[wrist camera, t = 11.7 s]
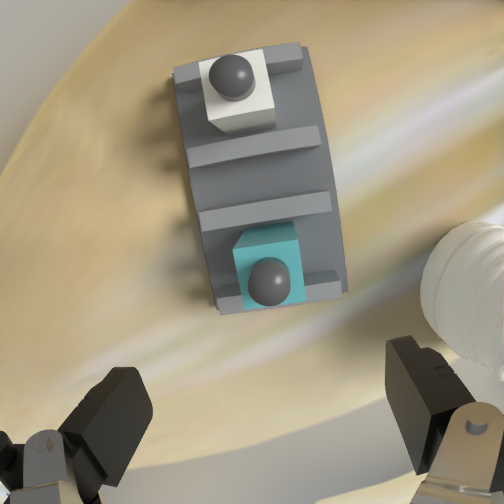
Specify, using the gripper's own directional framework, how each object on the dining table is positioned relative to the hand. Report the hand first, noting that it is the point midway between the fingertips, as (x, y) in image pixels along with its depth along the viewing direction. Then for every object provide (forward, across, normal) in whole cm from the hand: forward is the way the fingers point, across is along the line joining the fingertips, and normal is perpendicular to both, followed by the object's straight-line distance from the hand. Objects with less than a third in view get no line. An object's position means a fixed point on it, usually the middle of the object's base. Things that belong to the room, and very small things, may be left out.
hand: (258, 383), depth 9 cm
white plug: (+19, 0, -12) cm, 22 cm away
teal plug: (+19, 0, 0) cm, 19 cm away
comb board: (+20, 0, -6) cm, 21 cm away
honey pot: (+20, -20, +7) cm, 29 cm away
